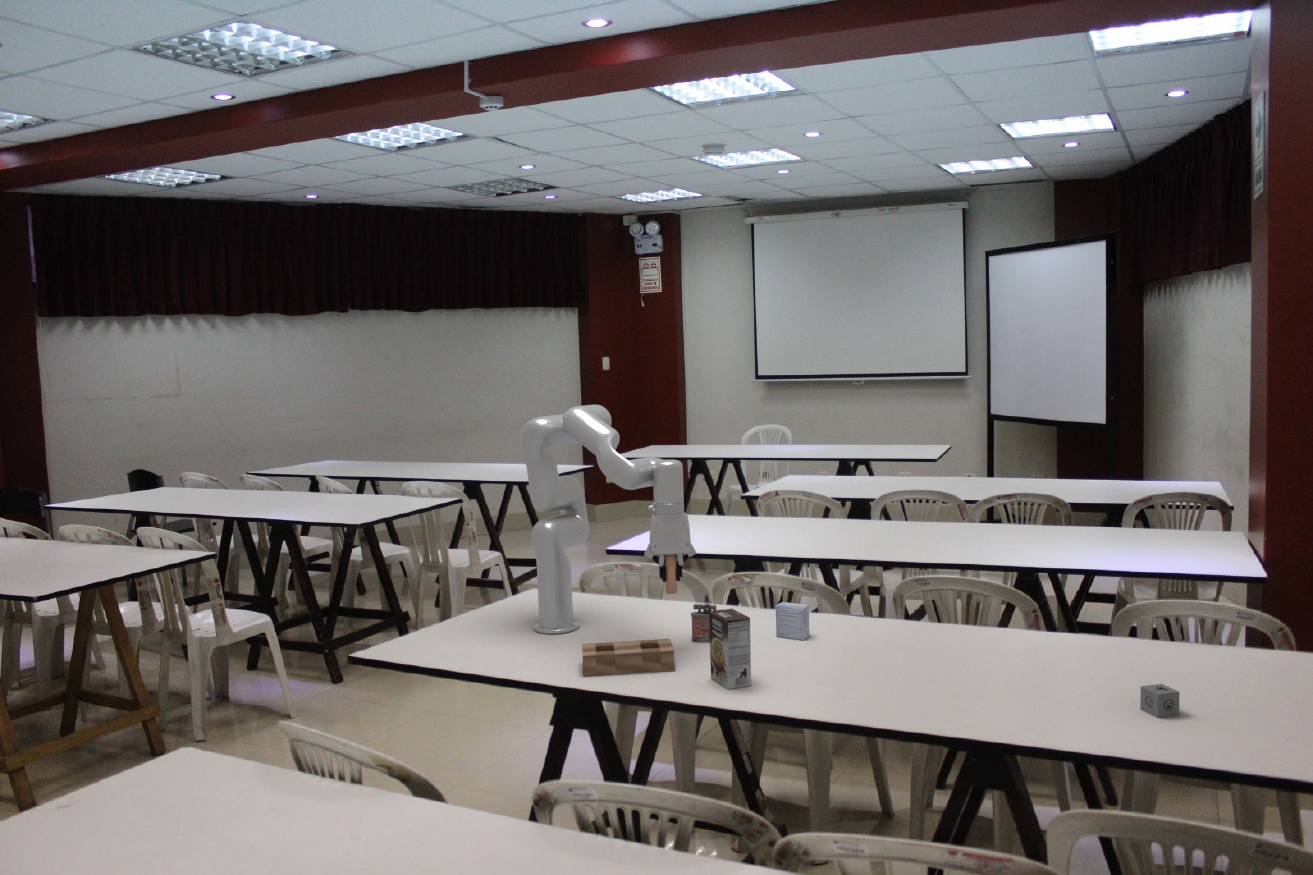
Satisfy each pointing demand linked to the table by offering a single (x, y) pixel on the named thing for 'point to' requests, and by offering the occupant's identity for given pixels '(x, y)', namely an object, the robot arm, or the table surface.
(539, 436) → the robot arm
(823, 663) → the table surface
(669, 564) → the peg
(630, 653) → the hole block
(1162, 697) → the dice cube
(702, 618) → the lighter
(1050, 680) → the table surface
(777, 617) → the medicine box
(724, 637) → the coffee box
